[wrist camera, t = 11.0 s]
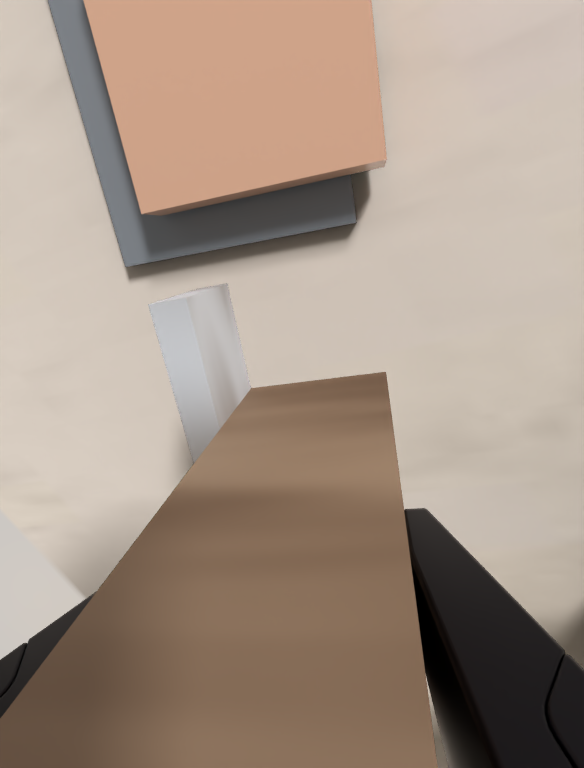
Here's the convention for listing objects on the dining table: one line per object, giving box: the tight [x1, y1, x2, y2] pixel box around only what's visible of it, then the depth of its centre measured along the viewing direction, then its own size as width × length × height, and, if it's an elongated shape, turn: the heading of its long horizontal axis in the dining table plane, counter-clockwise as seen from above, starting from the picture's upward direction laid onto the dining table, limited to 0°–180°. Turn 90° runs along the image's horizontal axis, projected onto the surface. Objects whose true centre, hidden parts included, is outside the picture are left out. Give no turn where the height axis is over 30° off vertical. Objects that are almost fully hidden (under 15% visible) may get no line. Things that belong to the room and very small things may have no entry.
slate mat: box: [48, 0, 357, 267], centre depth 14 cm, size 12×9×1 cm
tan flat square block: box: [83, 0, 387, 216], centre depth 13 cm, size 8×2×8 cm
